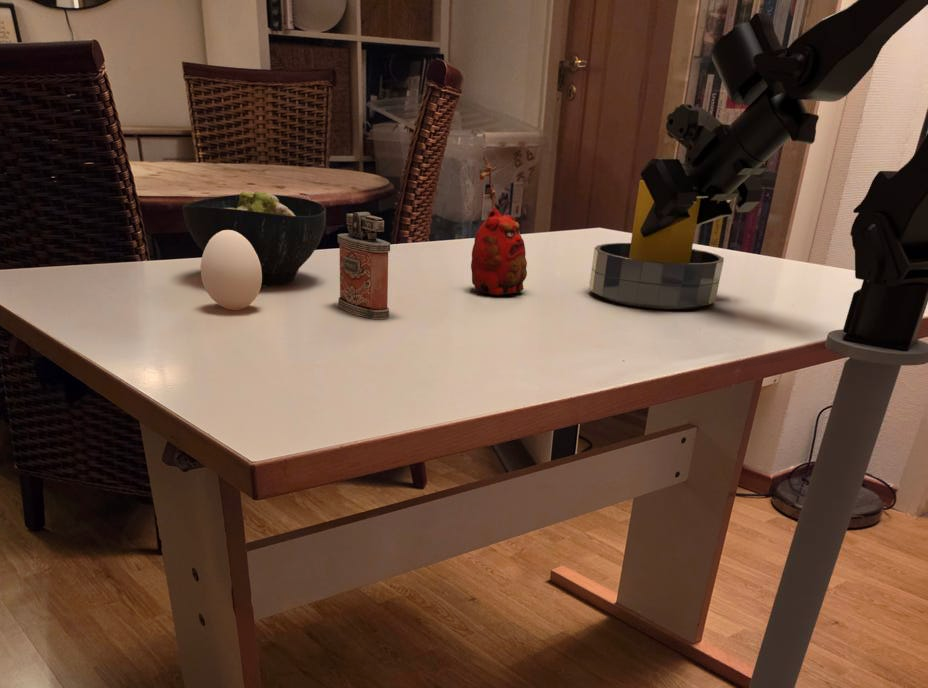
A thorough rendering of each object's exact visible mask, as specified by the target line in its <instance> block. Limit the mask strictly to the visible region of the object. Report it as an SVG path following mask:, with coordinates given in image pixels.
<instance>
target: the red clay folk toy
mask: <svg viewBox="0 0 928 688" xmlns="http://www.w3.org/2000/svg"><path fill="white" fill-rule="evenodd" d="M483 160H484V161H485V165H486V169H485V168H480V169H479V171H478V179H479V181H484V180H485V178H489V179H488V180H489V188H490V193H489V198H490V201H491V211H490V212H489V213H488V215H487V218H486V219H485V221H483V223H482V224H481V225H480V227H479V228H478V230H477V231H476V233H475V235H474V243H473V246H472V250H471V262H470V270H471V283H472V285H473V286H474V288H475V290H476V291H477V292H478V293H480V294H481V293H482V294H489V295H491V296H498V297H500V296H502V295H503V296H505V295H510V294H518V293H519V294H520V293H521V291H522V292H523V290H524V282H525V280H526V279H527V276H528V271H527V267H528V261H527V258H526V253H527V252H526V245H525V241H524V239H523V237H522V235H521V232H520V224H519V222H517V221H515V219H514V217H513V216H512V215H510V214H505V215H502V214H501V213H500V211H499V210H498V209H497V207H496V204H495V199H494V198H495V195H496V193H497V191H496V190H495V189H494V187H493V180H492V172H493V171H494V170H497V169H498V168H499V167H500V165H499V164H498V165H496V166H494V167H493V168H492V167H491V166H490V163H489V161H488V160H487V157H486V156H485V157H483Z"/></svg>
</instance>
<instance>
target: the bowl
mask: <svg viewBox="0 0 928 688" xmlns="http://www.w3.org/2000/svg"><path fill="white" fill-rule="evenodd" d="M181 209H182V214H183V219H184V220H183V221H184V224H185V226H186V227H187V231H188V232H189V234H190V236H191V238H192V240H193V241H194V242H195V244H196V245H197V246H198V248H199V249H200V250H201V251H202V252H203V253H204V250H205V247H206V246H207V244H208V242H209V240H210V239H211V238H212V237H213V236H214V235H215V234H217V233H219V232H221V231H223V230H233V231H236V232H238V233H239V234H241V235H242V236H244V237H245V238H246V239H247V240H248V241H249V242H250V244H251V245H252V247H253V248H254V250H255V252H256V254H257V256H258V258H259V261H260V265H261V271H262V284H261V287H277V286H285V285H289V284H292V283H293V282H294V281H295V278H296V277H297V274H298V272H299V269H300V268H301V267H302V266H303V265H304V264H305V263H306V262H307V261H308V260H309V259H310V258H311V256H312V255H313V254H314V252H315V251H316V249H317V248H318V246H319V245H320V244H321V240H322V238H323V235H324V233H325V229H326V225H327V224H326V223H327V208H326V206H324V205H323V204H321V203H319V202H317V201H314V200H311V199H307V198H302V197H294V196H290V195H281V194H272V193H269V192H260V191H259V192H257V191H256V192H253V193H247V192H245V191H242V192H240V193H239V194H229V195H222V196H221V195H220V196H215V197H210V198H209V197H208V198H204V199H199V200H196V201H192V202H188V203H186V204H184V205H182V207H181Z"/></svg>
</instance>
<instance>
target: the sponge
mask: <svg viewBox="0 0 928 688" xmlns="http://www.w3.org/2000/svg"><path fill="white" fill-rule="evenodd" d="M700 201H701V198H697V201H696V202H695V203H694V204H693V206H691V207H690V208H689V209H688V210H687V211H688V213H689V215H690V217H689V218H687V219H685V220H683V221H681V222H679V223H676V224H674V225H672V226H670V227H667V228H665V229H663V230H661V231H659V232H656V233H654V234H652V235H649V236H647V237H643V236H642V234H641V232H640V229H641V227H642V225H643V223H644V221H645V219H646V217H647V215H648V213H649V211H650V209H651V207H652V205H653V203H654V200H653V198H652V196H651V194H650V192H649V190H648V188H647V186H646V184H645V182H644V180H643V179H642V180H639V183H638V190H637V197H636V204H635V211H634V218H633V226H632V233H631V240H630V243H631V246H630V253H629V258H632V259H639V260H647V261H656V262H668V263H690V258H691V252H692V249H693V245H694V239H695V234H696V229H697V226H696V224H697V218H698V212H699V207H700Z"/></svg>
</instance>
